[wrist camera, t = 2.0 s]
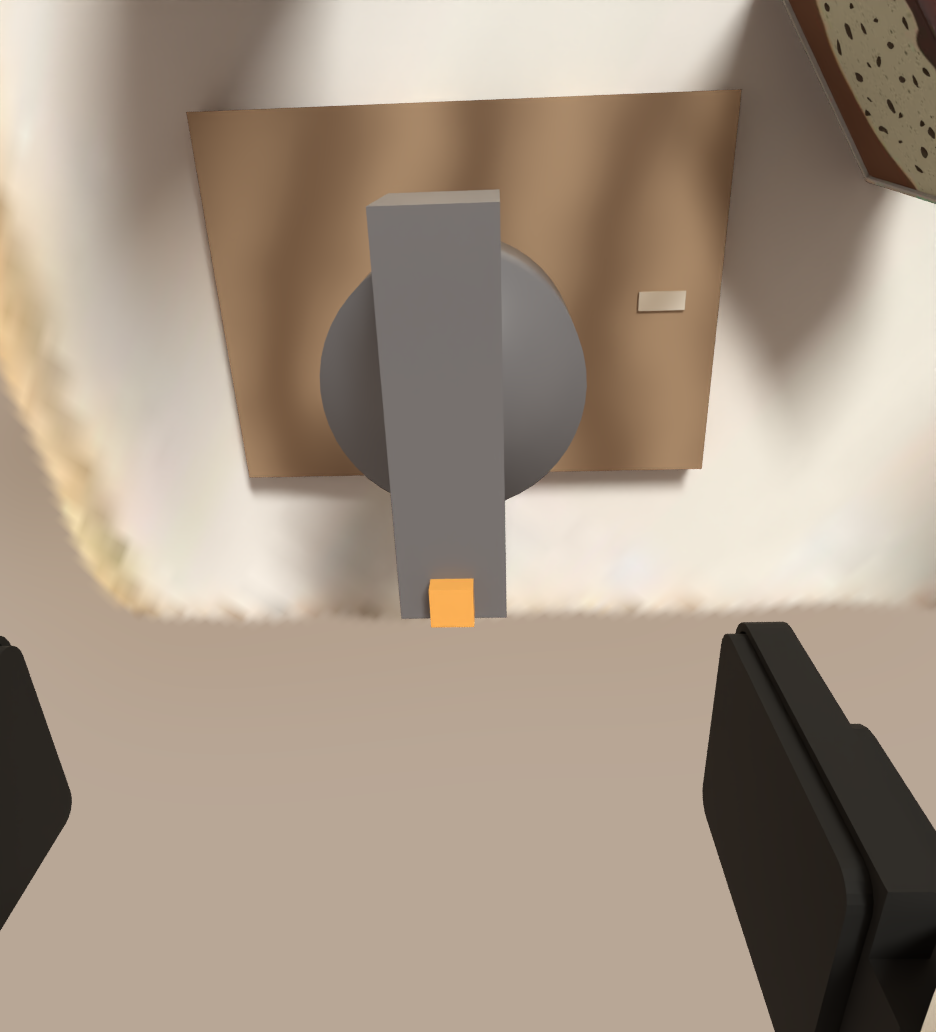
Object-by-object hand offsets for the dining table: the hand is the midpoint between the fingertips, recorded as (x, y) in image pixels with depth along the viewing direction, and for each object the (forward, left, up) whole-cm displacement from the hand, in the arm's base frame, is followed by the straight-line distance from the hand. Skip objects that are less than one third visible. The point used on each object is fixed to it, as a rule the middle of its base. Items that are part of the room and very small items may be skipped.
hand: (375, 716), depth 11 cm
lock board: (0, 0, -28) cm, 28 cm away
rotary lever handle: (0, 0, -18) cm, 18 cm away
